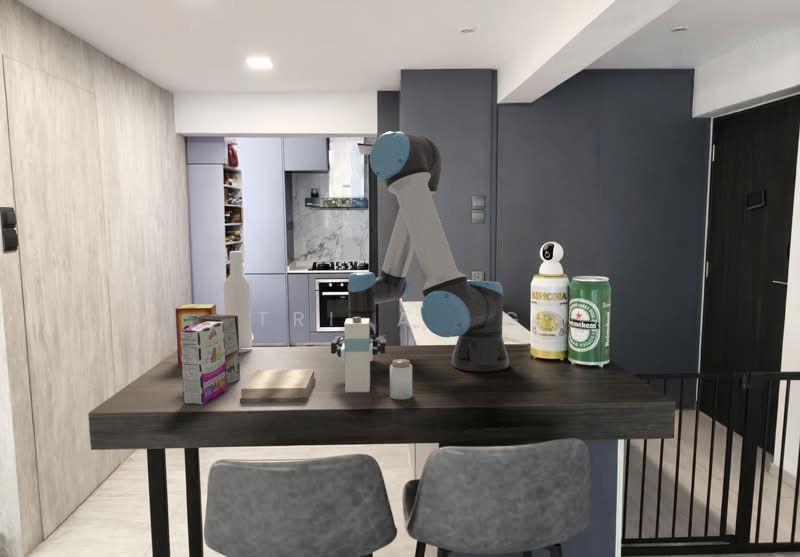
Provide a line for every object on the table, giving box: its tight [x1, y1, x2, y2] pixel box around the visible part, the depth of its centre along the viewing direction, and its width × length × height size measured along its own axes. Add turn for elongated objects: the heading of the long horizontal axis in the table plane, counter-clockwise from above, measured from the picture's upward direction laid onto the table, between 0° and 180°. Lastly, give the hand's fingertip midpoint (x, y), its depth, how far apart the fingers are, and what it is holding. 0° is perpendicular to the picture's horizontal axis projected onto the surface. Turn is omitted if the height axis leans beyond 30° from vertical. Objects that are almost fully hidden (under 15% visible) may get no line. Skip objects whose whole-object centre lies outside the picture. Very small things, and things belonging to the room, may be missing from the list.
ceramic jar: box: [389, 358, 413, 400], centre depth 136 cm, size 5×5×8 cm
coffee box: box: [193, 313, 241, 385], centre depth 150 cm, size 9×6×16 cm
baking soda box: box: [175, 303, 217, 365], centre depth 169 cm, size 10×6×16 cm
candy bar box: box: [180, 321, 228, 405], centre depth 136 cm, size 11×5×16 cm, turn 168°
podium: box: [239, 368, 317, 403], centre depth 141 cm, size 15×17×3 cm
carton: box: [343, 317, 371, 393], centre depth 142 cm, size 6×7×17 cm
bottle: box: [223, 250, 253, 354], centre depth 183 cm, size 8×8×30 cm
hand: (356, 355), depth 137 cm, fingers closed on carton, 6 cm apart
